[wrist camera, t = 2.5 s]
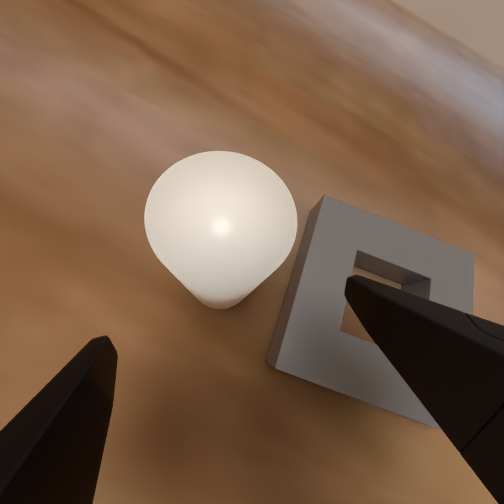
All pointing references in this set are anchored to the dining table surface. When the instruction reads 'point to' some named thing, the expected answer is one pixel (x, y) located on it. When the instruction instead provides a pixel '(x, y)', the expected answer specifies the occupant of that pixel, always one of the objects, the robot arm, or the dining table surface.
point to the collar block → (333, 300)
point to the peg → (220, 224)
